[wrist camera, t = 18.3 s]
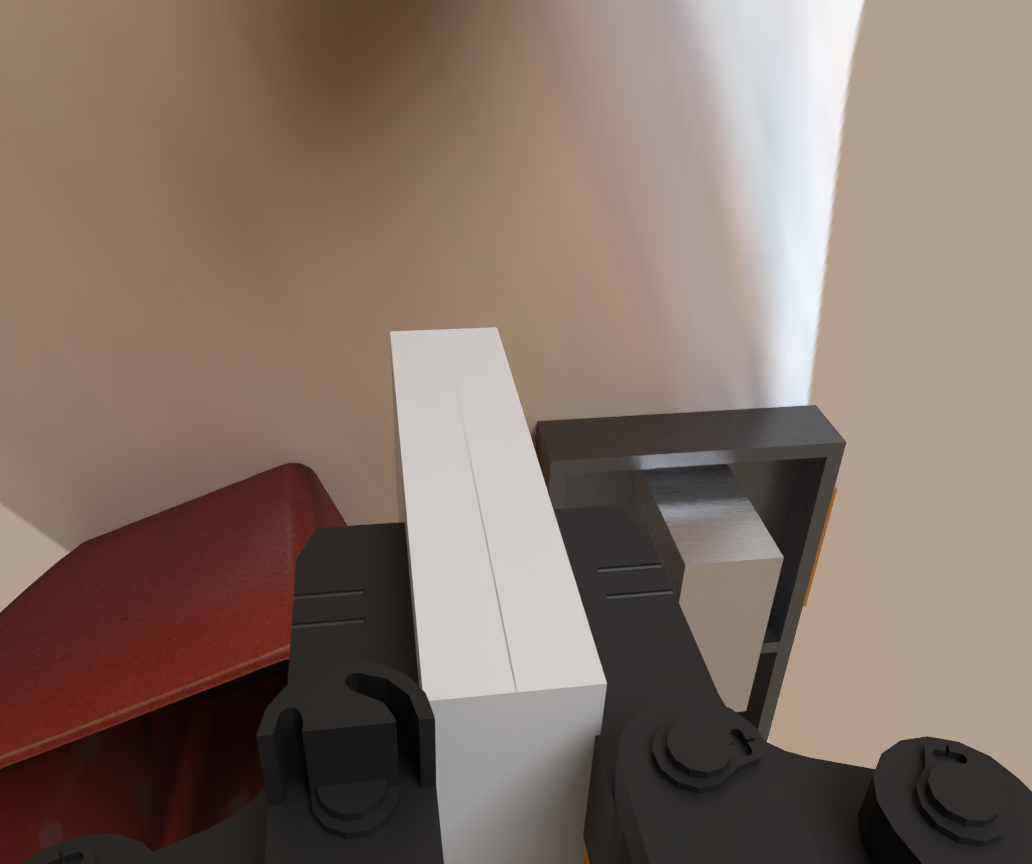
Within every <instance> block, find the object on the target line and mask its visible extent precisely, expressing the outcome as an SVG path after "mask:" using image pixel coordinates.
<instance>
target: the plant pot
mask: <svg viewBox="0 0 1032 864" xmlns="http://www.w3.org/2000/svg"><path fill="white" fill-rule="evenodd" d="M342 526H347V524H346V523H345V521H344V519H343V518H342V516H341V515H340V513H339V511H338V510H337V508H336V506H335V505H334V503H333V501H332V500H331V498H330V496H329V495H328V493H327V492H326V490H325V488H324V487H323V485H322V483H321V482H320V480H319V479H318V477H317V475H316V474H315V473H314V472H313V471H312V469H311V468H309V467H307V466H305V465H303V464H299V463H288V464H284V465H281V466H279V467H276V468H273V469H270V470H268V471H265V472H263V473H260V474H257V475H255V476H252V477H250V478H248V479H246V480H243V481H240V482H237V483H234V484H232V485H229V486H227V487H224V488H222V489H219V490H217V491H214V492H212V493H209V494H206V495H204V496H201V497H199V498H196V499H194V500H191V501H188V502H186V503H183V504H181V505H178V506H176V507H173V508H170V509H168V510H165V511H163V512H160V513H157V514H155V515H152V516H150V517H147V518H145V519H142V520H139V521H137V522H134V523H131V524H129V525H127V526H124V527H122V528H119V529H117V530H114V531H112V532H109V533H106V534H104V535H101V536H99V537H96V538H93V539H91V540H88V541H86V542H84V543H82V544H81V545H79V546H78V547H77V548H76V549H74V550H73V551H72V552H70V553H69V554H68V555H66V556H65V557H64V558H62V559H61V560H60V561H58V562H57V563H56V564H55V565H54V566H52V567H51V568H50V569H49V570H48V571H47V572H45V573H44V574H43V575H42V576H41V577H40V578H38V579H37V580H36V581H35V582H34V583H33V584H31V585H30V586H29V587H28V588H27V589H26V590H25V591H23V592H22V593H21V594H20V595H19V596H18V597H17V598H16V599H15V600H14V601H13V602H12V603H10V604H9V605H8V606H7V607H6V608H5V609H4V610H3V611H2V612H1V613H0V864H22V863H24V862H25V861H27V860H28V859H29V858H31V857H32V856H33V855H35V854H36V853H37V852H39V851H40V850H43V849H45V848H48V847H50V846H53V845H55V844H58V843H60V842H63V841H66V840H68V839H71V838H73V837H76V836H82V835H94V834H107V833H114V834H117V835H121V836H124V837H127V838H130V839H134V840H137V841H140V842H143V843H144V844H145V845H146V847H147V848H148V849H149V850H150V851H151V852H153V851H156V850H158V849H161V848H163V847H165V846H168V845H170V844H173V843H175V842H178V841H180V840H182V839H185V838H187V837H190V836H192V835H195V834H197V833H200V832H202V831H204V830H207V829H209V828H211V827H213V826H214V825H216V824H218V823H220V822H222V821H224V820H226V819H228V818H230V817H232V816H233V815H234V814H236V813H237V812H238V811H239V810H241V809H242V808H243V807H244V806H246V805H247V804H248V803H249V802H251V801H252V800H253V799H254V798H255V797H256V796H257V794H258V793H259V792H260V791H261V790H262V788H263V787H264V786H265V783H264V777H263V771H262V766H261V760H260V755H259V749H258V743H257V738H256V736H257V733H258V730H259V727H260V724H261V721H262V718H263V715H264V712H265V709H266V708H267V707H268V706H269V705H270V703H271V702H272V701H273V700H274V699H275V698H276V697H277V695H278V694H279V693H280V692H281V691H282V690H283V689H284V688H285V686H286V685H287V684H288V670H289V655H290V640H291V631H292V611H293V601H294V581H295V567H296V559H297V557H298V556H299V554H300V553H301V551H302V550H303V548H304V547H305V545H306V544H307V542H308V541H309V539H310V538H311V536H312V535H313V533H314V532H315V530H316V529H317V528H328V527H342Z"/></svg>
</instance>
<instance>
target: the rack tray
mask: <svg viewBox="0 0 1032 864" xmlns="http://www.w3.org/2000/svg"><path fill="white" fill-rule="evenodd" d="M845 445H846V441H845V440H844V439H843V438H842V436H841V435H840V434H839V433H838V432H837V431H836V429H835V428H834V427H833V426H832V424H831V423H830V422H829V421H828V419H827V418H826V417H825V416H824V415H823V413H822V412H821V411H820V410H819V409H818V407H817V406H816V405H812V406H795V407H778V408H760V409H743V410H726V411H709V412H692V413H674V414H657V415H640V416H623V417H606V418H588V419H571V420H554V421H538V428H537V449H536V455H537V459H538V462H539V465H540V468H541V472H542V475H543V478H544V481H545V484H546V488H547V491H548V494H549V497H550V501H551V504H552V507H553V509H564V508H579V507H594V506H608V505H620V506H621V507H622V508H623V509H624V510H625V511H626V512H627V513H628V514H630V515H631V508H632V500H633V492H634V483H635V475H636V470H639V469H654V468H669V467H684V466H699V465H714V464H728V466H729V468H730V469H731V471H732V473H733V474H734V476H735V478H736V479H737V481H738V482H739V484H740V486H741V487H742V489H743V491H744V492H745V494H746V496H747V497H748V499H749V501H750V502H751V504H752V506H753V507H754V509H755V511H756V512H757V514H758V516H759V517H760V519H761V520H762V522H763V524H764V525H765V527H766V529H767V530H768V532H769V534H770V535H771V537H772V539H773V540H774V542H775V544H776V545H777V547H778V549H779V550H780V552H781V554H782V555H783V557H784V558H783V562H782V566H781V571H780V575H779V579H778V583H777V587H776V591H775V595H774V599H773V603H772V607H771V611H770V615H769V620H768V624H767V628H766V632H765V636H764V640H763V644H762V648H761V652H760V656H759V660H758V664H757V669H756V673H755V677H754V681H753V685H752V689H751V693H750V697H749V701H748V705H747V709H746V711H743V712H736V713H738V714H739V715H740V716H742V717H743V718H745V719H746V720H747V721H749V722H750V723H751V724H753V725H754V726H755V727H756V729H757V730H758V732H759V733H760V734H761V736H762V737H763V739H764V740H765V741H766V742H767V739H768V735H769V731H770V728H771V724H772V720H773V716H774V713H775V709H776V705H777V701H778V697H779V694H780V689H781V686H782V682H783V679H784V675H785V671H786V667H787V664H788V660H789V656H790V652H791V648H792V645H793V641H794V637H795V633H796V630H797V626H798V622H799V618H800V614H801V611H802V607H803V606H806V603H807V599H808V595H809V592H810V588H811V584H812V580H813V577H814V573H815V569H816V565H817V561H818V558H819V554H820V551H821V547H822V543H823V539H824V536H825V532H826V528H827V524H828V521H829V517H830V513H831V509H832V506H833V502H834V498H835V495H836V491H837V488H836V487H835V483H836V479H837V475H838V471H839V467H840V464H841V460H842V456H843V452H844V448H845Z"/></svg>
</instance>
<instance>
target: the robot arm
mask: <svg viewBox="0 0 1032 864" xmlns="http://www.w3.org/2000/svg"><path fill="white" fill-rule="evenodd" d="M390 341H391V364H392V387H393V410H394V433H395V456H396V479H397V496H398V509H399V522H400V523H386V524H371V525H357V526H342V527H328V528H317V529H316V530H315V532H314V533H313V535H312V536H311V538H310V539H309V541H308V542H307V544H306V545H305V547H304V548H303V550H302V551H301V553H300V554H299V556H298V557H297V559H296V567H295V581H294V601H293V611H292V631H291V640H290V655H289V670H288V684H287V685H286V686H285V688H284V689H283V690H282V691H281V692H280V693H279V694H278V695H277V697H276V698H275V699H274V700H273V701H272V702H271V703H270V705H269V706H268V707H267V708H266V709H265V712H264V715H263V718H262V721H261V724H260V727H259V730H258V733H257V736H256V738H257V743H258V749H259V755H260V760H261V766H262V771H263V777H264V783H265V786H264V787H263V788H262V790H261V791H260V792H259V793H258V794H257V796H256V797H255V798H254V799H253V800H252V801H251V802H249V803H248V804H247V805H246V806H244V807H243V808H242V809H241V810H239V811H238V812H237V813H236V814H234V815H233V816H232V817H230V818H228V819H226V820H224V821H222V822H220V823H218V824H216V825H214V826H213V827H211V828H209V829H207V830H204V831H202V832H200V833H197V834H195V835H192V836H190V837H187V838H185V839H182V840H180V841H178V842H175V843H173V844H170V845H168V846H165V847H163V848H161V849H158V850H156V851H153V852H151V851H150V850H149V849H148V848H147V847H146V845H145V844H144V843H143V842H140V841H137V840H134V839H130V838H127V837H124V836H121V835H117V834H114V833H107V834H94V835H82V836H76V837H73V838H71V839H68V840H66V841H63V842H60V843H58V844H55V845H53V846H50V847H48V848H45V849H43V850H40V851H39V852H37V853H36V854H35V855H33V856H32V857H31V858H29V859H28V860H27V861H25V862H24V863H22V864H584V860H585V852H586V849H587V854H588V858H589V862H590V864H1032V792H1031V791H1030V790H1029V788H1028V787H1026V786H1025V785H1024V784H1023V783H1022V782H1021V781H1020V780H1019V779H1018V778H1017V777H1016V776H1015V775H1013V774H1012V773H1011V772H1010V771H1008V770H1007V769H1006V768H1004V767H1003V766H1002V765H1001V764H999V763H998V762H997V761H995V760H994V759H993V758H991V757H990V756H988V755H986V754H984V753H982V752H979V751H977V750H975V749H973V748H971V747H968V746H966V745H964V744H962V743H960V742H955V741H950V740H944V739H938V738H933V737H921V738H915V739H908V740H901V741H899V742H898V743H897V744H895V745H894V746H892V747H891V748H889V749H888V750H886V751H885V752H884V753H882V754H881V757H880V759H879V762H878V764H877V767H876V769H870V768H865V767H859V766H853V765H847V764H842V763H836V762H831V761H825V760H820V759H814V758H809V757H805V756H801V755H798V754H794V753H791V752H787V751H784V750H782V749H780V748H778V747H776V746H774V745H772V744H770V743H767V742H766V741H765V740H764V739H763V737H762V736H761V734H760V733H759V732H758V730H757V729H756V727H755V726H754V725H753V724H751V723H750V722H749V721H747V720H746V719H745V718H743V717H742V716H740V715H739V714H738V713H736V712H735V711H734V710H732V709H731V708H729V707H726V706H725V704H724V702H723V700H722V699H721V697H720V695H719V694H718V691H717V689H716V687H715V685H714V682H713V680H712V678H711V675H710V673H709V671H708V668H707V666H706V664H705V662H704V659H703V657H702V655H701V652H700V650H699V648H698V645H697V643H696V641H695V639H694V636H693V634H692V632H691V629H690V627H689V625H688V623H687V620H686V618H685V616H684V613H683V611H682V609H681V606H680V604H679V602H678V600H677V597H676V596H674V595H673V588H672V586H671V583H670V581H669V579H668V577H667V574H666V572H665V570H664V569H662V566H661V560H660V558H659V556H658V554H657V551H656V549H655V547H654V544H653V542H652V540H651V538H650V535H649V533H648V531H647V530H646V529H645V528H644V527H643V526H642V525H641V524H639V523H638V522H637V521H636V520H635V519H634V518H633V517H632V516H631V515H630V514H628V513H627V512H626V511H625V510H624V509H623V508H622V507H621V506H620V505H608V506H594V507H579V508H564V509H553V507H552V504H551V501H550V497H549V494H548V491H547V488H546V484H545V481H544V478H543V475H542V472H541V468H540V465H539V462H538V459H537V455H536V452H535V449H534V446H533V442H532V439H531V436H530V433H529V429H528V426H527V423H526V420H525V416H524V413H523V410H522V407H521V404H520V400H519V397H518V394H517V391H516V387H515V384H514V381H513V378H512V374H511V371H510V368H509V365H508V361H507V358H506V355H505V352H504V349H503V345H502V342H501V339H500V336H499V332H498V329H497V328H471V329H444V330H418V331H391V332H390Z"/></svg>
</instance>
